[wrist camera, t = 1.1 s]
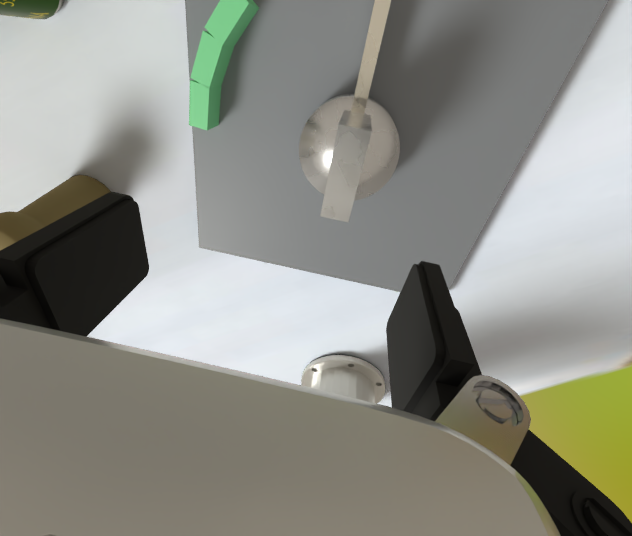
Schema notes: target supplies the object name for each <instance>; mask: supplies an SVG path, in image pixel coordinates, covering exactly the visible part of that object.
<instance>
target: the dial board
mask: <svg viewBox="0 0 632 536" xmlns="http://www.w3.org/2000/svg"><path fill="white" fill-rule="evenodd" d="M608 1H609V0H391V4H390V8H389V12H388V16H387V20H386V24H385V29H384V33H383V37H382V41H381V45H380V50H379V54H378V58H377V62H376V66H375V70H374V75H373V79H372V83H371V87H370V91H369V96H368V97H370V98H372V99H374V100H375V101H377V102H378V103H380V104H381V105H382V106H383V107H384V108H385V109H386V110H387V111H388V113H389V114H390V116H391V117H392V119H393V122H394V124H395V126H396V129H397V132H398V135H399V141H400V153H399V159H398V163H397V166H396V169H395V171H394V173H393V175H392V176H391V178H390V179H389V181H388V182H387V183H386V184H385V185H384V186H383V187H382V188H381V189H380V190H379V191H377V192H376V193H374V194H372V195H370V196H368V197H366V198H363V199H360V200H355V201H354V202H353V206H352V210H351V214H350V218H349V221H348V222H344V221H339V220H335V219H330V218H326V217H321V216H320V215H321V209H322V204H323V199H324V194H322V193H321V192H319V191H318V190H317V189H316V188H315V187H314V186H313V185H312V184H311V183H310V182H309V181H308V179H307V177H306V176H305V174H304V172H303V170H302V167H301V163H300V158H299V142H300V137H301V134H302V131H303V128H304V126H305V124H306V122H307V121H308V119H309V118H310V116H311V115H312V114H313V113H314V112H315V111H316V110H317V109H318V108H319V107H320V106H321V105H322V104H323V103H325V102H326V101H328V100H329V99H331V98H334V97H336V96H339V95H344V94H355V90H356V85H357V81H358V76H359V71H360V67H361V62H362V57H363V53H364V48H365V43H366V39H367V34H368V30H369V25H370V20H371V16H372V11H373V6H374V2H375V0H185V6H186V23H187V41H188V58H189V76H190V107H189V125H191V126H192V129H193V147H194V164H195V182H196V199H197V217H198V235H199V248H204V249H208V250H213V251H217V252H222V253H226V254H231V255H235V256H240V257H245V258H249V259H254V260H258V261H263V262H267V263H272V264H276V265H281V266H285V267H290V268H294V269H299V270H303V271H308V272H312V273H317V274H322V275H326V276H331V277H335V278H340V279H344V280H349V281H353V282H358V283H362V284H367V285H371V286H376V287H380V288H385V289H389V290H394V291H399V292H401V290H402V288H403V286H404V284H405V281H406V279H407V277H408V274H409V272H410V270H411V268H412V266H413V264H419V263H420V262H421V261H425V262H430V263H434V264H438V265H440V267H441V270H442V273H443V276H444V279H445V281H446V284H447V287H448V290H449V289H450V287H451V285H452V283H453V282H454V280H455V278H456V276H457V274H458V273H459V271H460V269H461V267H462V265H463V264H464V262H465V260H466V258H467V256H468V254H469V253H470V251H471V249H472V247H473V245H474V244H475V242H476V240H477V238H478V236H479V235H480V233H481V231H482V229H483V227H484V225H485V224H486V222H487V220H488V218H489V216H490V215H491V213H492V211H493V209H494V207H495V206H496V204H497V202H498V200H499V198H500V196H501V195H502V193H503V191H504V189H505V187H506V186H507V184H508V182H509V180H510V178H511V177H512V175H513V173H514V171H515V169H516V167H517V166H518V164H519V162H520V160H521V158H522V157H523V155H524V153H525V151H526V149H527V148H528V146H529V144H530V142H531V140H532V138H533V137H534V135H535V133H536V131H537V129H538V128H539V126H540V124H541V122H542V120H543V119H544V117H545V115H546V113H547V111H548V109H549V108H550V106H551V104H552V102H553V100H554V99H555V97H556V95H557V93H558V91H559V90H560V88H561V86H562V84H563V82H564V80H565V79H566V77H567V75H568V73H569V71H570V70H571V68H572V66H573V64H574V62H575V61H576V59H577V57H578V55H579V53H580V52H581V50H582V48H583V46H584V44H585V42H586V41H587V39H588V37H589V35H590V33H591V32H592V30H593V28H594V26H595V24H596V23H597V21H598V19H599V17H600V15H601V13H602V12H603V10H604V8H605V6H606V4H607V3H608Z"/></svg>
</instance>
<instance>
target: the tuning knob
mask: <svg viewBox="0 0 632 536" xmlns="http://www.w3.org/2000/svg"><path fill="white" fill-rule="evenodd" d="M390 4H391V0H375V2H374V6H373V11H372V16H371V20H370V25H369V30H368V34H367V39H366V43H365V48H364V53H363V57H362V62H361V67H360V71H359V76H358V81H357V85H356V90H355V94H344V95H339V96H336V97H334V98H331V99H329V100H328V101H326V102H325V103H323V104H322V105H321V106H320V107H319V108H318V109H317V110H316V111H315V112H314V113H313V114H312V115H311V116H310V118H309V119H308V121H307V122H306V124H305V126H304V128H303V131H302V134H301V137H300V142H299V158H300V163H301V167H302V170H303V172H304V174H305V176H306V177H307V179H308V181H309V182H310V183H311V184H312V185H313V186H314V187H315V188H316V189H317V190H318V191H319V192H321V193H322V194H324V199H323V204H322V209H321V215H320V216H321V217H326V218H330V219H335V220H339V221H344V222H348V221H349V218H350V214H351V210H352V206H353V202H354V201H355V200H360V199H363V198H366V197H368V196H370V195H372V194H374V193H376V192H377V191H379V190H380V189H381V188H382V187H383V186H384V185H385V184H386V183H387V182H388V181H389V179H390V178H391V176H392V175H393V173H394V171H395V169H396V166H397V163H398V159H399V153H400V141H399V135H398V132H397V129H396V126H395V124H394V122H393V119H392V117H391V116H390V114H389V113H388V111H387V110H386V109H385V108H384V107H383V106H382V105H381V104H380V103H378V102H377V101H375V100H374V99H372V98H370V97H368V96H369V91H370V87H371V83H372V79H373V75H374V70H375V66H376V62H377V58H378V54H379V50H380V45H381V41H382V37H383V33H384V29H385V24H386V20H387V16H388V12H389V8H390Z"/></svg>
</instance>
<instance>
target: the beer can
mask: <svg viewBox="0 0 632 536" xmlns="http://www.w3.org/2000/svg"><path fill="white" fill-rule="evenodd" d="M62 3H63V0H0V15H6V16H15V17H24V18H32V19H47V18H49V17H51V16H53V15H54V14H56V13H57V12H58V11H59V9H60V7H61V6H62Z"/></svg>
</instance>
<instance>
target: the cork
mask: <svg viewBox="0 0 632 536" xmlns="http://www.w3.org/2000/svg"><path fill="white" fill-rule="evenodd" d="M109 192H111V191H110V190H109V189H108V188H107V187H106V186H105V185H104V184H102V183H101V182H99V181H98V180H96V179H94V178H92V177H89V176H85V175H77V176H73V177H71V178H70V179H68V180H66V181H65V182H63V183H62V184H60V185H59V186H57V187H56V188H54V189H53V190H51V191H49V192H48V193H46V194H45V195H43V196H42V197H40V198H39V199H37V200H36V201H34V202H32V203H31V204H29V205H28V206H26V207H25V208H23V209H22V210H20V211H19V212H4V213H0V250H2V249H4V248H6V247H8V246H10V245H12V244H14V243H15V242H17V241H19V240H21V239H23V238H25V237H27V236H29V235H30V234H32V233H34V232H36V231H38V230H40V229H42V228H43V227H45V226H47V225H49V224H51V223H53V222H55V221H57V220H58V219H60V218H62V217H64V216H66V215H68V214H70V213H72V212H73V211H75V210H77V209H79V208H81V207H83V206H85V205H86V204H88V203H90V202H92V201H94V200H96V199H98V198H100V197H101V196H103V195H105V194H107V193H109Z"/></svg>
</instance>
